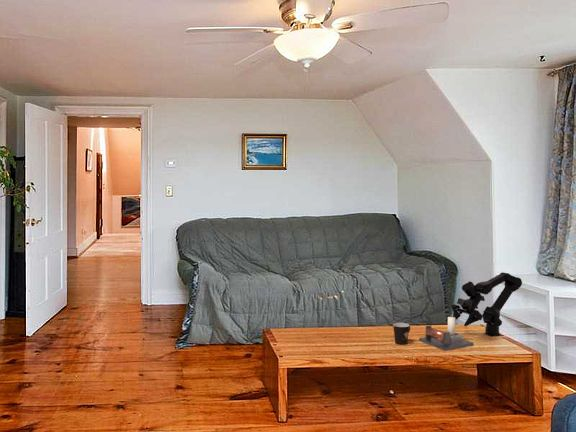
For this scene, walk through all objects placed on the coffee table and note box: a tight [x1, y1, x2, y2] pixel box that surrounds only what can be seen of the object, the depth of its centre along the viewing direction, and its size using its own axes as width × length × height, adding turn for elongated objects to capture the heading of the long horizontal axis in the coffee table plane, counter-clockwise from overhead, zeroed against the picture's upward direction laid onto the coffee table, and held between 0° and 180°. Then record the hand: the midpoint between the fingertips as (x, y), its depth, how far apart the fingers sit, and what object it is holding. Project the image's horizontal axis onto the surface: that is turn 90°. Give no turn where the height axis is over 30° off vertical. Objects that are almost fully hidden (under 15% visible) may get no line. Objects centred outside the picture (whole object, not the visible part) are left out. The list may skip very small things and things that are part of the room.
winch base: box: [418, 324, 475, 352], centre depth 281 cm, size 20×20×8 cm
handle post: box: [447, 316, 456, 336], centre depth 283 cm, size 4×4×12 cm
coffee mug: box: [392, 322, 411, 346], centre depth 282 cm, size 12×9×10 cm
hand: (458, 324), depth 285 cm, fingers open, 9 cm apart
